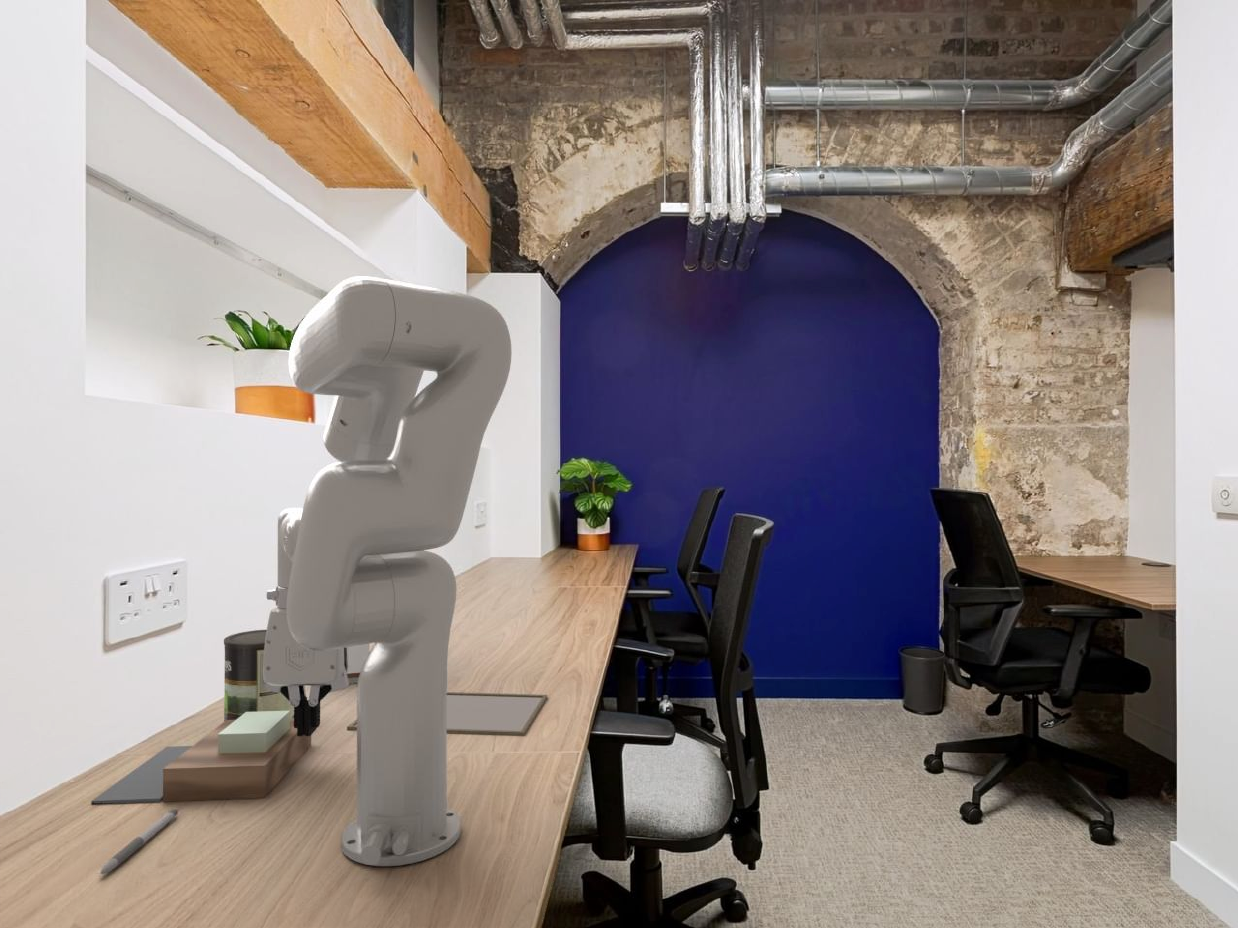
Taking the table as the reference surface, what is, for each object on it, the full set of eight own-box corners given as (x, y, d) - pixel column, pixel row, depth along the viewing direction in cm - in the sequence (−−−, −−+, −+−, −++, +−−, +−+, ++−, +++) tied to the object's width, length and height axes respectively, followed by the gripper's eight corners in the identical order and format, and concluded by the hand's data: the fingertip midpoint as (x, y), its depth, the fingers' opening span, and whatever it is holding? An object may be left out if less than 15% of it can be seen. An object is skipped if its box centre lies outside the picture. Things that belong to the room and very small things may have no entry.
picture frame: (346, 732, 118) (523, 739, 115) (346, 726, 118) (523, 732, 115) (394, 696, 137) (547, 700, 134) (394, 690, 137) (547, 694, 134)
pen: (181, 817, 89) (181, 805, 89) (106, 882, 75) (106, 867, 75) (172, 817, 89) (173, 805, 89) (95, 882, 75) (95, 868, 75)
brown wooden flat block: (264, 797, 93) (264, 765, 93) (162, 801, 92) (163, 768, 92) (311, 744, 111) (311, 717, 111) (226, 747, 110) (226, 719, 110)
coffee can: (219, 739, 114) (219, 645, 114) (228, 718, 123) (228, 631, 123) (293, 730, 117) (293, 640, 117) (296, 711, 127) (296, 627, 127)
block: (266, 752, 98) (266, 732, 98) (217, 753, 97) (217, 734, 97) (290, 728, 107) (290, 710, 107) (245, 729, 106) (246, 711, 106)
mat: (160, 801, 92) (160, 798, 92) (91, 804, 92) (91, 800, 92) (224, 747, 110) (224, 744, 110) (166, 749, 110) (166, 746, 110)
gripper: (239, 603, 98) (238, 744, 98) (356, 602, 100) (355, 741, 100) (261, 593, 106) (261, 724, 106) (370, 592, 107) (370, 722, 107)
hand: (307, 732), depth 103 cm, fingers closed
